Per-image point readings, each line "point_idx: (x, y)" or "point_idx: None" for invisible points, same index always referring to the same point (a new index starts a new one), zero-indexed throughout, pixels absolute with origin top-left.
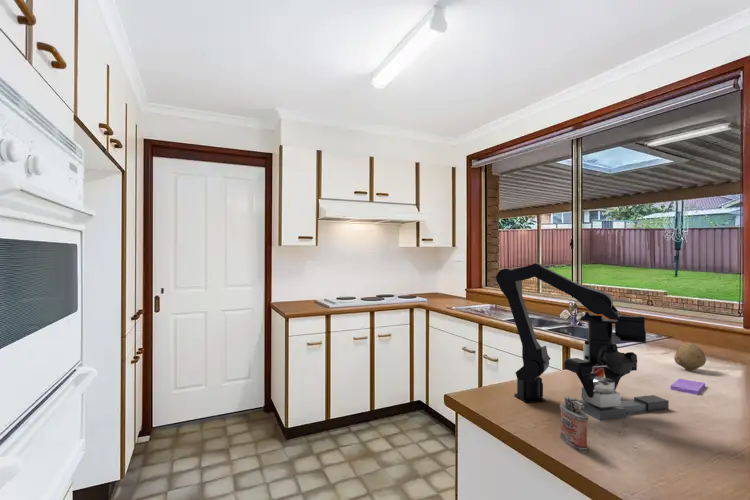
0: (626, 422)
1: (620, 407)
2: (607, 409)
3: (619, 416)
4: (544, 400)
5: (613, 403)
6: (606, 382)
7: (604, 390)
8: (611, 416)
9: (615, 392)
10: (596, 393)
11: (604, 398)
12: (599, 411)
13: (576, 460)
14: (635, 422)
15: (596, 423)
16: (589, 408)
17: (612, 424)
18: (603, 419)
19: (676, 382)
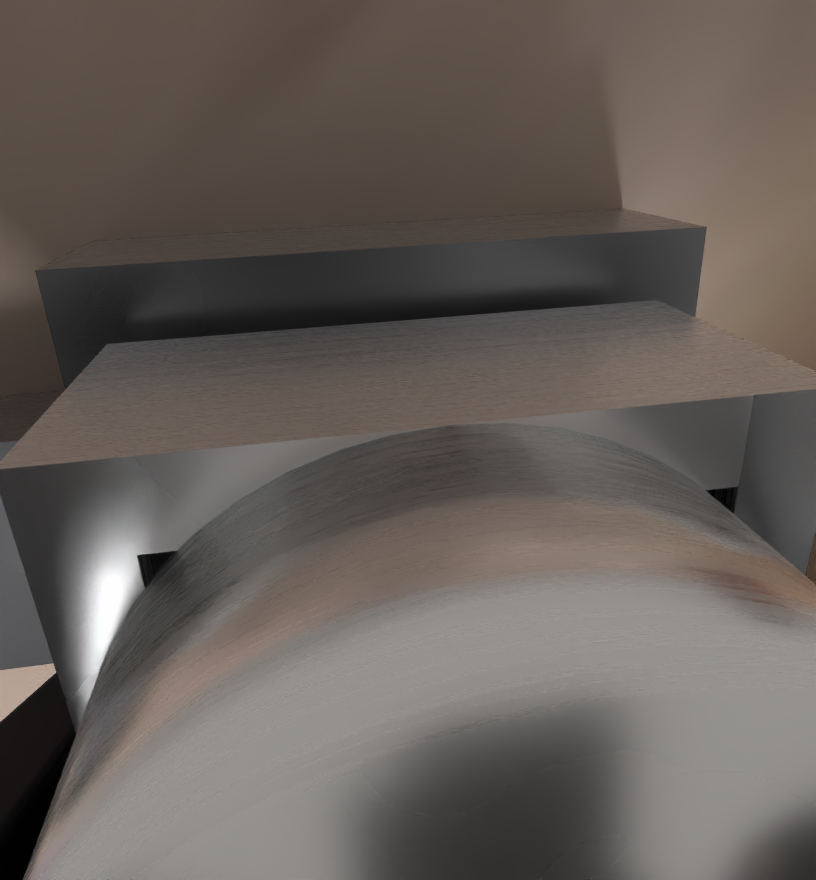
0: (224, 46)
1: (113, 341)
2: (484, 284)
3: (225, 236)
4: None
5: (312, 348)
6: (656, 859)
7: (710, 509)
8: (406, 227)
9: (130, 561)
10: (811, 528)
11: (640, 363)
12: (695, 240)
13: None
14: (36, 5)
15: (765, 120)
16: None
17: (551, 20)
18: (563, 213)
19: None
